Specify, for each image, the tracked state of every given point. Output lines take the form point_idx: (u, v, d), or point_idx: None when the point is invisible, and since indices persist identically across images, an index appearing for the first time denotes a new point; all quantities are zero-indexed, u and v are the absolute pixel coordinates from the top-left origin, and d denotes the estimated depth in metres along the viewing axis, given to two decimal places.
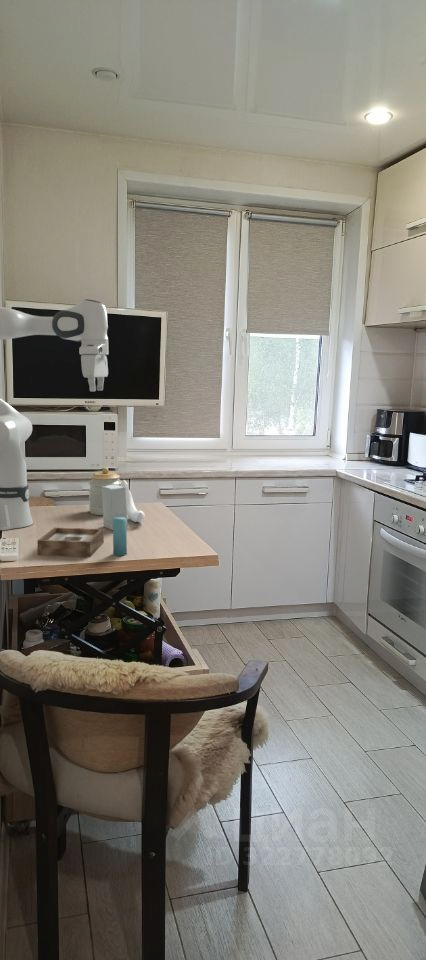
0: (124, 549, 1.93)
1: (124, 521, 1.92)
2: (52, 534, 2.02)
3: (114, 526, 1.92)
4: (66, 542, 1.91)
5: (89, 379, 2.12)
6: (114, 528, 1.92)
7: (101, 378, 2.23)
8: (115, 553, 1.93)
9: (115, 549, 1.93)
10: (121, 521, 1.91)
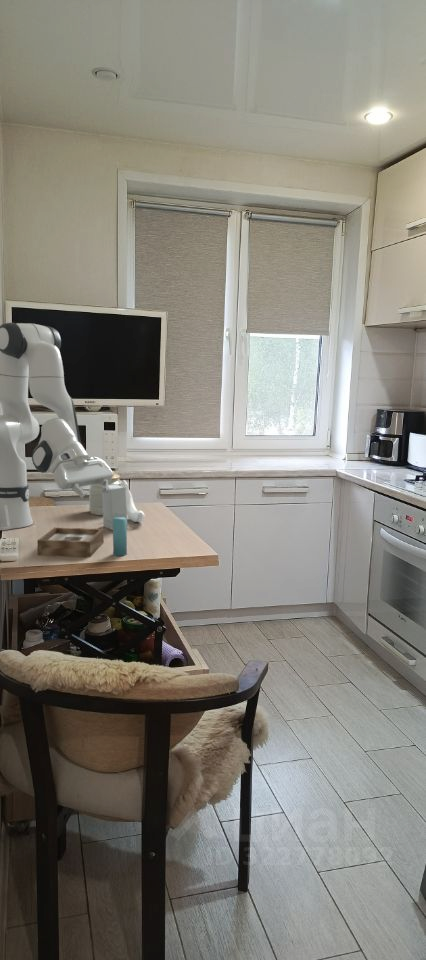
0: (124, 549, 1.93)
1: (124, 521, 1.92)
2: (52, 534, 2.02)
3: (114, 526, 1.92)
4: (66, 542, 1.91)
5: (72, 488, 1.96)
6: (114, 528, 1.92)
7: (102, 480, 2.05)
8: (115, 553, 1.93)
9: (115, 549, 1.93)
10: (121, 521, 1.91)
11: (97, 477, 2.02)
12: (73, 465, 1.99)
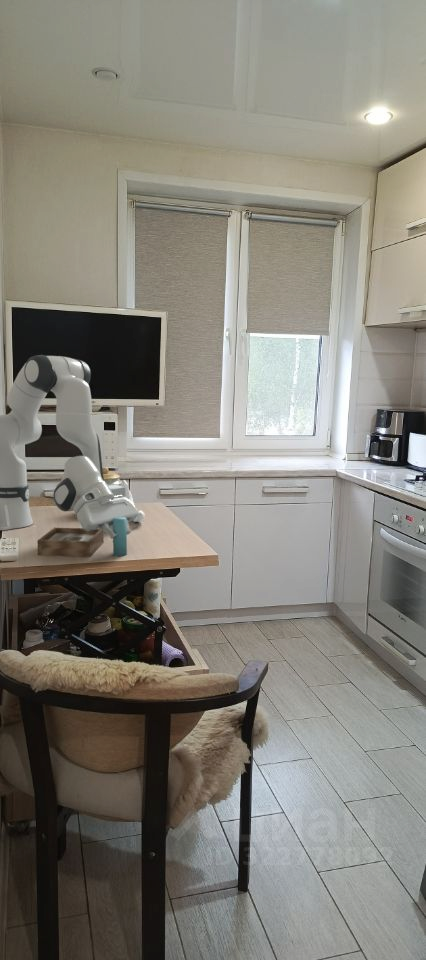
0: (124, 549, 1.93)
1: (124, 521, 1.92)
2: (52, 534, 2.02)
3: (114, 526, 1.92)
4: (66, 542, 1.91)
5: (102, 528, 1.91)
6: (114, 528, 1.92)
7: None
8: (115, 553, 1.93)
9: (115, 549, 1.93)
10: (121, 521, 1.91)
11: None
12: (98, 505, 1.93)
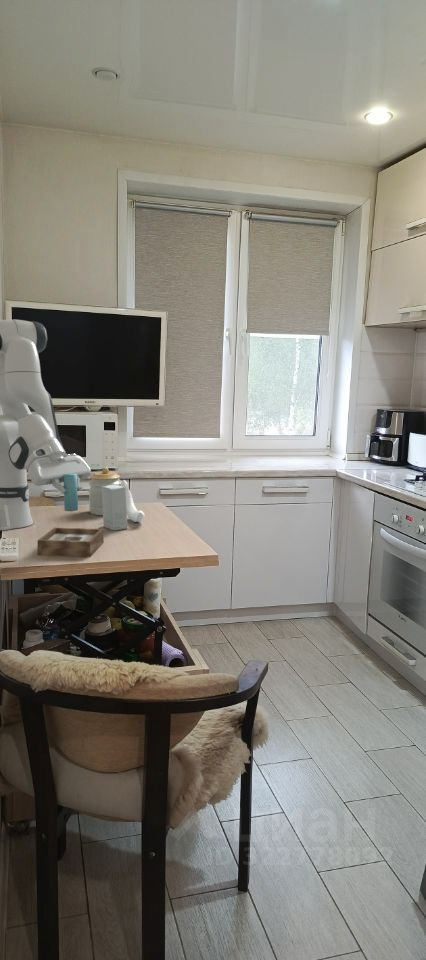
0: (75, 505, 1.96)
1: (74, 477, 1.95)
2: (52, 534, 2.02)
3: (64, 482, 1.95)
4: (66, 542, 1.91)
5: (53, 483, 1.94)
6: (65, 484, 1.95)
7: None
8: (66, 508, 1.96)
9: (66, 504, 1.96)
10: (71, 477, 1.94)
11: None
12: (48, 461, 1.96)
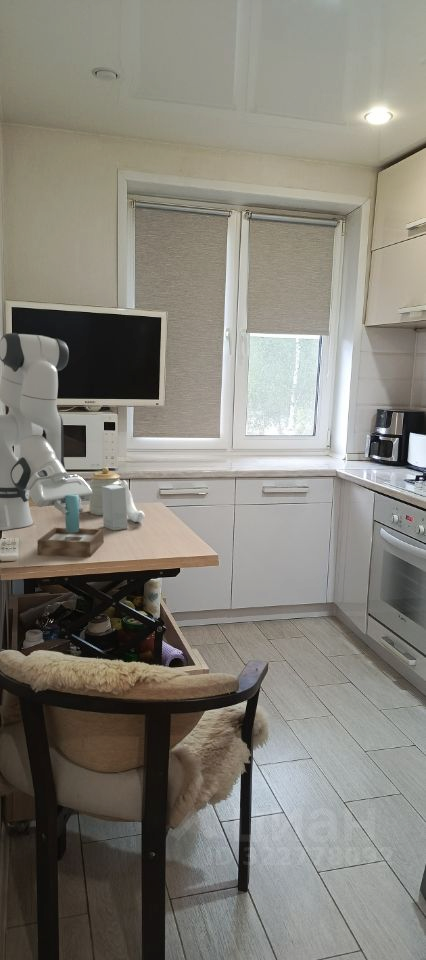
0: (76, 526, 1.96)
1: (76, 498, 1.95)
2: (52, 534, 2.02)
3: (66, 503, 1.95)
4: (66, 542, 1.91)
5: (54, 505, 1.95)
6: (66, 505, 1.95)
7: None
8: (67, 530, 1.96)
9: (67, 526, 1.96)
10: (73, 498, 1.94)
11: None
12: (50, 482, 1.96)
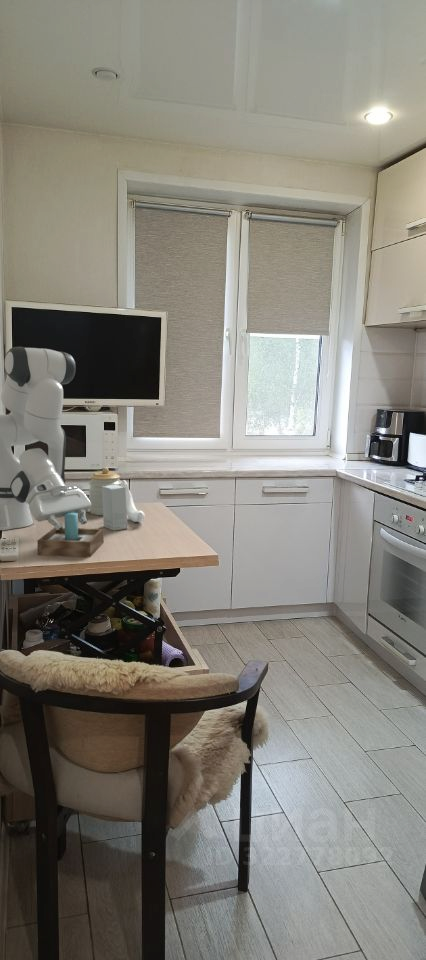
0: None
1: (75, 516, 1.97)
2: (52, 534, 2.02)
3: (65, 521, 1.97)
4: (66, 542, 1.91)
5: (48, 520, 1.95)
6: (65, 523, 1.97)
7: (80, 511, 2.03)
8: None
9: None
10: (72, 516, 1.96)
11: (74, 508, 2.01)
12: (49, 496, 1.98)
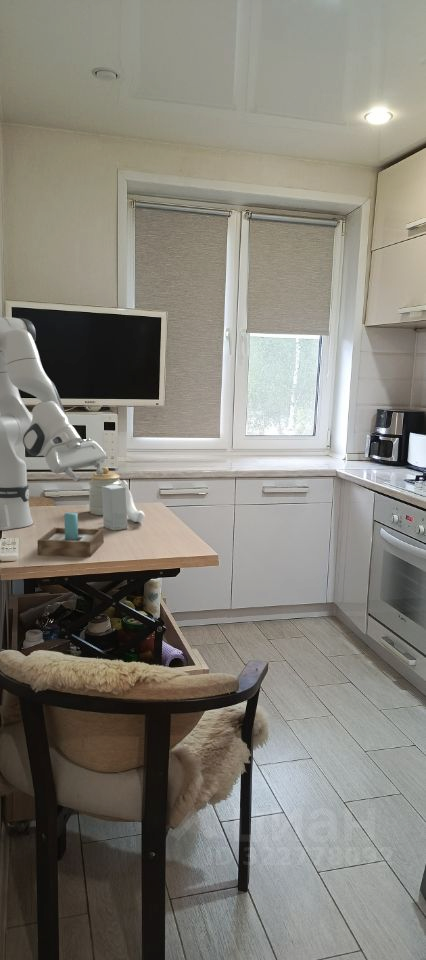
0: None
1: (75, 516, 1.97)
2: (52, 534, 2.02)
3: (65, 521, 1.97)
4: (66, 542, 1.91)
5: (66, 472, 1.96)
6: (65, 523, 1.97)
7: (96, 463, 2.05)
8: None
9: None
10: (72, 516, 1.96)
11: (90, 460, 2.02)
12: (65, 449, 1.99)
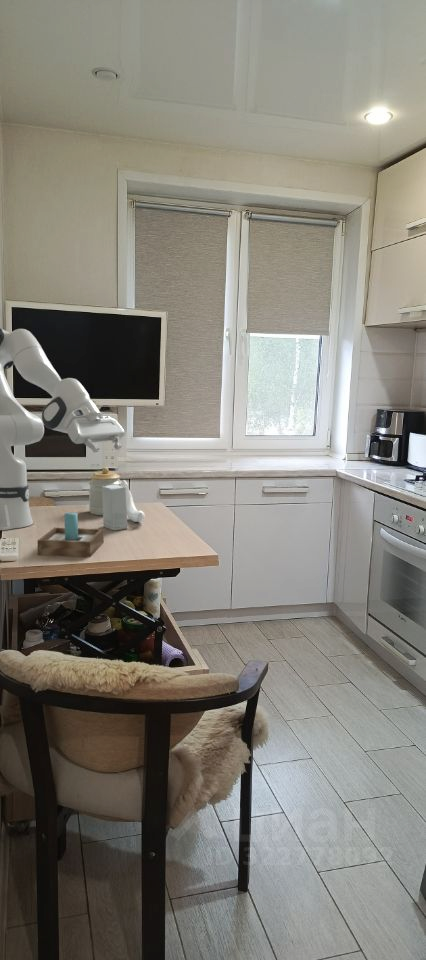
0: None
1: (75, 516, 1.97)
2: (52, 534, 2.02)
3: (65, 521, 1.97)
4: (66, 542, 1.91)
5: (85, 443, 2.04)
6: (65, 523, 1.97)
7: (114, 437, 2.13)
8: None
9: None
10: (72, 516, 1.96)
11: (109, 434, 2.10)
12: (86, 421, 2.07)
